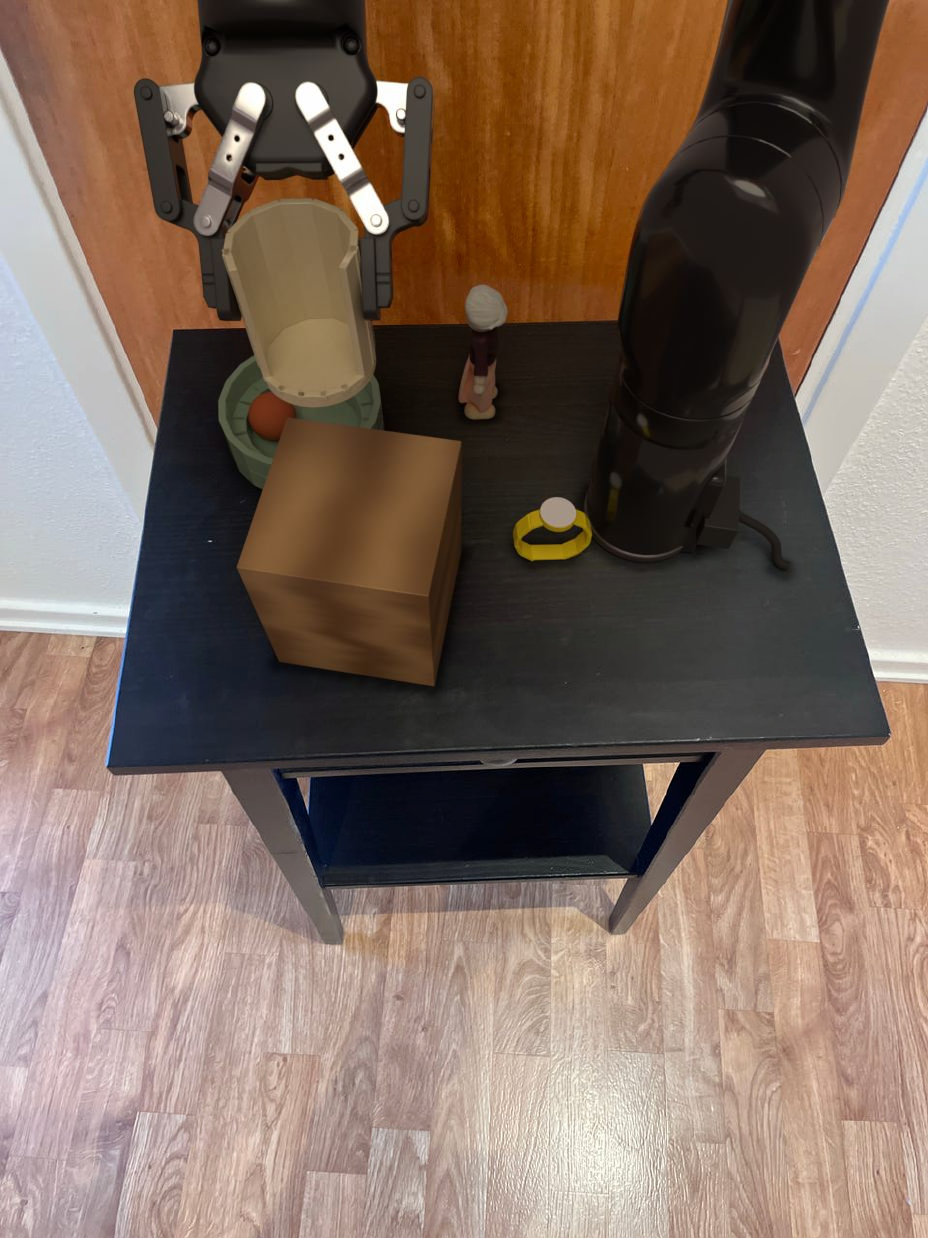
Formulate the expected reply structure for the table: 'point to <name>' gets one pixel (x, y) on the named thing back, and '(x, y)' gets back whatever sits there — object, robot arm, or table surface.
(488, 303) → the grandmother figurine
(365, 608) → the stand
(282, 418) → the ball
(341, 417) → the bowl
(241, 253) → the cup
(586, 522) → the watch
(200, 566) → the table surface
